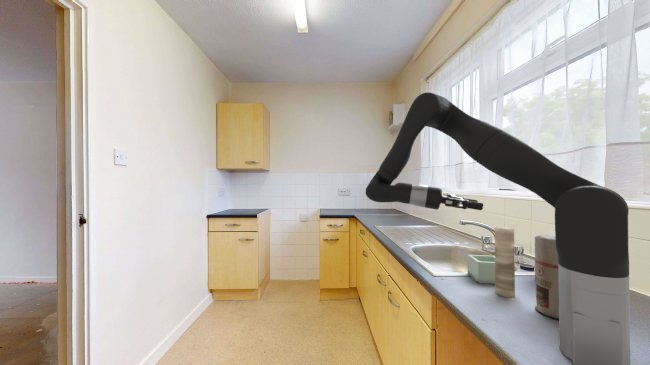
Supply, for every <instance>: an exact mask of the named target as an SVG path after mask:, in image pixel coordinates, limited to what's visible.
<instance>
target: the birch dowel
mask: <svg viewBox="0 0 650 365" xmlns="http://www.w3.org/2000/svg"><path fill="white" fill-rule="evenodd" d="M494 256H495V284H494V285H495V287H494V290H495V294H497V295H498V296H501V297H505V298H515V297H516V284H515V283H516V275H515V273H516V270H515V268H516V267H515V264H516V263H515V262H516V260H515V259H516V258H515V229H514V228H510V227H505V226H504V227H502V226H501V227H500V226H497V227H494Z"/></svg>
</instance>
